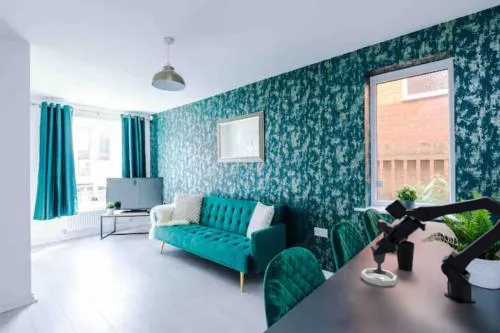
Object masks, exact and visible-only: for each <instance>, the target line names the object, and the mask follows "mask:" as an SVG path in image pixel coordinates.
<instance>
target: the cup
mask: <svg viewBox="0 0 500 333" xmlns="http://www.w3.org/2000/svg"><path fill="white" fill-rule="evenodd" d="M395 244H396V243H395ZM396 245H397V244H396ZM414 252H415V243H414V242H412V241H409V240H407V241H404V240H403V241H402V242H401V243H400V244H399V245H397V250H396V251H395V253H396V260H397V268H398V270H402V271H404V272H409V271H410V272H411V271H412V270H413V266H414V254H415V253H414Z"/></svg>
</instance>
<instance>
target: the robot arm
mask: <svg viewBox="0 0 500 333" xmlns="http://www.w3.org/2000/svg"><path fill="white" fill-rule="evenodd" d="M479 210H486V211H488V212H489V213H491V214H494V215H495V216H498V217H499V219H498V220H497V222H496V223H495V225H494V226H493V227H491V228H490V229H489V230H487V231H486V232H485V233H484V234H482V235H481V236H479V237H478V238H476V240H474V241H473V242H472V243H471V244H469V245H468V246H466V247H465V248H464V249H463V250H462V251H459V252H455V251H454V250H451V252H450V253H449V254H448V255H445V256H444V258H443V259H442V260H441V262H442V263H441V265H440V270H441V272H442V273H443V275H445V276H446V278H447V281H446V284H447V288H446V289H447V292H444V293H443V294H444V295H445V296H446V297H448V298H449V299H452V300H453V301H455V302H456V303H459V304H466V303H476V302H477V301H476V299H474V298H472V296H473V295H472V283H470V278H471V272H469V271H468V270H467V268H468V266H469V265H470V264H471V263H472V262H473V261H474V260H476V259H477V258H478V257H480V256H481V255H482V254H483V253H485V252H486V251H488V250H489V249H490V248H491V247H493V246H494V245H496V244H497V243H498V242H500V201H499V200H495V199H494V198H492V197H489V196H487V195H486V196H481V197H478V198H472V199H468V200H467V199H466V200H462V201H456V202H452V203H445V204H423V205H420V206H418V207H415V208H413V207H411V208H408V207H407V206H406V205H405V204H404V203H403V202H402V201H401V200H400V199H396V200H394V201H392V202H391V203H390V204H388V205H387V206H386V207H385V208H384V211H386V212H387V213H388V214H389V216H391V217H392V219H394V220H396V221H397V220H398V221H400V222H399V223H396V224H392V223H389V222H387V221H385V220H384V219H382V218H381V219H379V220H378V221H377V223H376V224H375V228H376V229H379V230H381V231H382V232H383V231H385V233H386V234H385V233H384V235H383V234H382V235H383V236H382V237H381V238H380V239H379V240H380V246H379V247H378V248H377V249H376V250H375V252H374V253H373V252H372V255H373V254H374V255H375V256H376V255H381V254H385V255H386V254H392V255H393V254H394V253H396V250H397V245H399V244H400V243H401V242H402V241H403V240H405V239H407V238H408V239H409V237H410V236H411V235H412V234H414V233H415V232H416V231H418V230H419V229H420V230H421V231H423V232H425V231H427V228H426V226H427V223H426V222H430V221H432V220H436V219H439V218H440V217H441V218H442V217H444V216H449V215H455V214H461V213H462V214H463V213H467V212H473V211H479ZM403 218H404V219H403ZM402 219H403V220H402ZM393 225H394V226H393ZM395 243H396V244H397V245H396V244H395Z"/></svg>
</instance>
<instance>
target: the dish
mask: <svg viewBox="0 0 500 333" xmlns="http://www.w3.org/2000/svg"><path fill="white" fill-rule="evenodd" d="M377 268H378V267H377ZM377 268H376V267H372V268H371V267H370V268H364V269H363V270H362V271H361V272H360V274H361V278H362V279H363V280H364V281H365V282H366V283H369V284H371V285H375V286H380V287H391V286H396V284H397V282H398V275H397V274H395V273H393V272H391V271H389V270H386V269H382V268H381V269H382V270H383V271H385V272H386V274H376V273H374V272H373V270H375V269H377Z"/></svg>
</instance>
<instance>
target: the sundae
mask: <svg viewBox="0 0 500 333" xmlns="http://www.w3.org/2000/svg"><path fill="white" fill-rule="evenodd" d="M379 246H380V239H379V238H377V239H376V241H375V243H374V245H371V246H370V247H369V248H370V249H371V252H372V259H373V261H374V262H375V263H376V264H377V269H375V270H373V272H374V273H376V274H386V272H385V271H383V270H384V269H383V270H382V264H383V263H385V259H386V254H381V255H376V256H375V255H374V254H373V253H374V252H375V250H376V249H377V248H378V247H379Z"/></svg>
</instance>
